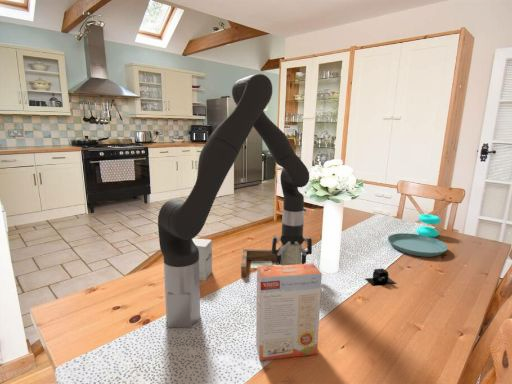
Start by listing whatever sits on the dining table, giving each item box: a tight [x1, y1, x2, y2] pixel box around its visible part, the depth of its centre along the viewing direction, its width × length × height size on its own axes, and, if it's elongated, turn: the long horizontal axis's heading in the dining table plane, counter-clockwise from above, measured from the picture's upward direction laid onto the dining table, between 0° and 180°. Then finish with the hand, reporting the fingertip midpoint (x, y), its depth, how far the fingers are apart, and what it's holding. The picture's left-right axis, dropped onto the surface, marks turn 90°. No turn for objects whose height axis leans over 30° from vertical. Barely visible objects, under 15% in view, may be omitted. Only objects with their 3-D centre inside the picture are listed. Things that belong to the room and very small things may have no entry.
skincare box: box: [280, 243, 302, 265], centre depth 110 cm, size 6×4×12 cm
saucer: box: [387, 232, 448, 258], centre depth 138 cm, size 24×24×3 cm
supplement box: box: [192, 237, 213, 282], centre depth 107 cm, size 7×7×13 cm
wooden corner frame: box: [240, 248, 277, 278], centre depth 115 cm, size 16×19×4 cm
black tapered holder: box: [364, 268, 398, 287], centre depth 107 cm, size 12×7×5 cm, turn 102°
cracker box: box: [255, 263, 322, 361], centre depth 71 cm, size 14×6×21 cm, turn 99°
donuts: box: [416, 213, 442, 238], centre depth 156 cm, size 10×10×10 cm
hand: (290, 264), depth 110 cm, fingers open, 8 cm apart
